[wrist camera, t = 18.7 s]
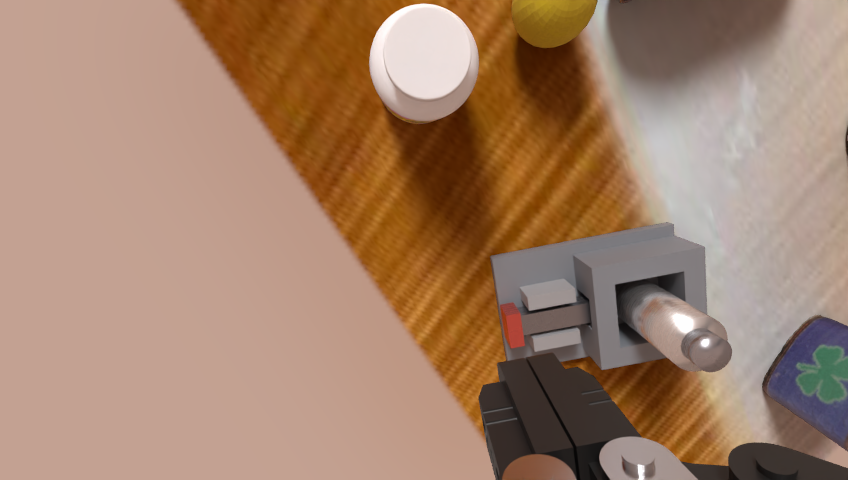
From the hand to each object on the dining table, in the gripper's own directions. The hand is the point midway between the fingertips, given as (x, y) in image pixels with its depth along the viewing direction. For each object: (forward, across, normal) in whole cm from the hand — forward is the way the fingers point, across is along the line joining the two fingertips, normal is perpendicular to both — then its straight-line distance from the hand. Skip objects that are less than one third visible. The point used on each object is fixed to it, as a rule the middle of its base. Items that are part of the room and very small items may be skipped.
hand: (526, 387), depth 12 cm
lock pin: (+25, -8, +10) cm, 28 cm away
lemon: (+27, -10, -14) cm, 32 cm away
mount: (+27, -12, +10) cm, 31 cm away
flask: (+27, -31, +20) cm, 46 cm away
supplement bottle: (+27, 0, -11) cm, 29 cm away
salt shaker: (+26, -15, +10) cm, 32 cm away
